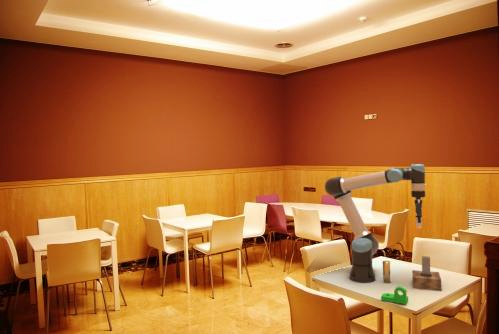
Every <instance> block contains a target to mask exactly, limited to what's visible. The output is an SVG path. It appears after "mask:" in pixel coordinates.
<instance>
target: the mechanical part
mask: <svg viewBox="0 0 499 334" xmlns="http://www.w3.org/2000/svg"><path fill="white" fill-rule="evenodd" d="M399 292H401V293H402V294H399ZM407 295H408V294H407V289H406V288H404V287H403V286H396V287H395V288H394V292H393V293H389V292H385V293H382V295H381V297H380V299H381V301H385V302H391V303H397V304H402V305H407V303H408V302H409V296H407Z"/></svg>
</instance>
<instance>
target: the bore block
mask: <svg viewBox="0 0 499 334" xmlns="http://www.w3.org/2000/svg"><path fill="white" fill-rule="evenodd" d="M411 272H412V273H411V274H412V275H411V276H412V288H413V289H416V290H417V289H419V290H427V291H428V290H430V291H439V292H441V291H442V277H441V275H440V272H439V271H430V277H429V276H422V270H416V269H415V270H412V271H411Z"/></svg>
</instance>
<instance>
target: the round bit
mask: <svg viewBox="0 0 499 334" xmlns="http://www.w3.org/2000/svg"><path fill="white" fill-rule="evenodd" d="M382 278H383V279H382V281H383V283H385V284H390V283H391V261H390V260H382Z"/></svg>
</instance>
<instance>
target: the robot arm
mask: <svg viewBox="0 0 499 334" xmlns="http://www.w3.org/2000/svg"><path fill="white" fill-rule="evenodd" d="M425 169H426V167H425V165H424V164H422V163H418V164H417V163H416V164H414V163H412V164H411V165H410V167H391V168H389V169H387V170H382V171H377V172H371V173H368V174H367V173H366V174H361V175H357V176H352V177H346V178H345V177H344V176H335V177H331V178H328V179H327V180H326V181H325V183H324V190H325V192H326V193H327V195H329V196H331V197H333V198H334V200H335V201H336V202H338V204H339V205H340V206H339V207H340V208H341V209H342V212H343V214H344V215H345V219H346V220H347V222H348V224H349V227H350V229H351V231H352V233H353V234H354V237H353V240H352V242H351V268H350V272H349V279H350V280H351V281H353V282H357V283H372V282H374V281H376V277H377V275H376V273H375V270H374V267H373V256H374V255H375V254H377V252H378V249H380V247H379V246H380V245H379V244H380V243H379V241H378V239H377V238H376V237H375V236H374V235H373V234H372V231H369V230H368V229H367V227H366V224H365V222H364V220H363V218H362V216H361V214H360V212H359V209H358V208H357V206H356V204H355V201H354V200H353V198H352V193H353V192H352V191H354V190H359V189H365V188H368V187H369V188H370V187H375V186H380V185H385V184H391V183H398V182H400V181H410V190H411V193H410V194H411V198H415V199H414V205H415V225H416V229H420V230H421V229H423V214H422V211H423V210H422V208H423V200H422V199H421V198H426V186H427V184H426V171H425Z"/></svg>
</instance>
